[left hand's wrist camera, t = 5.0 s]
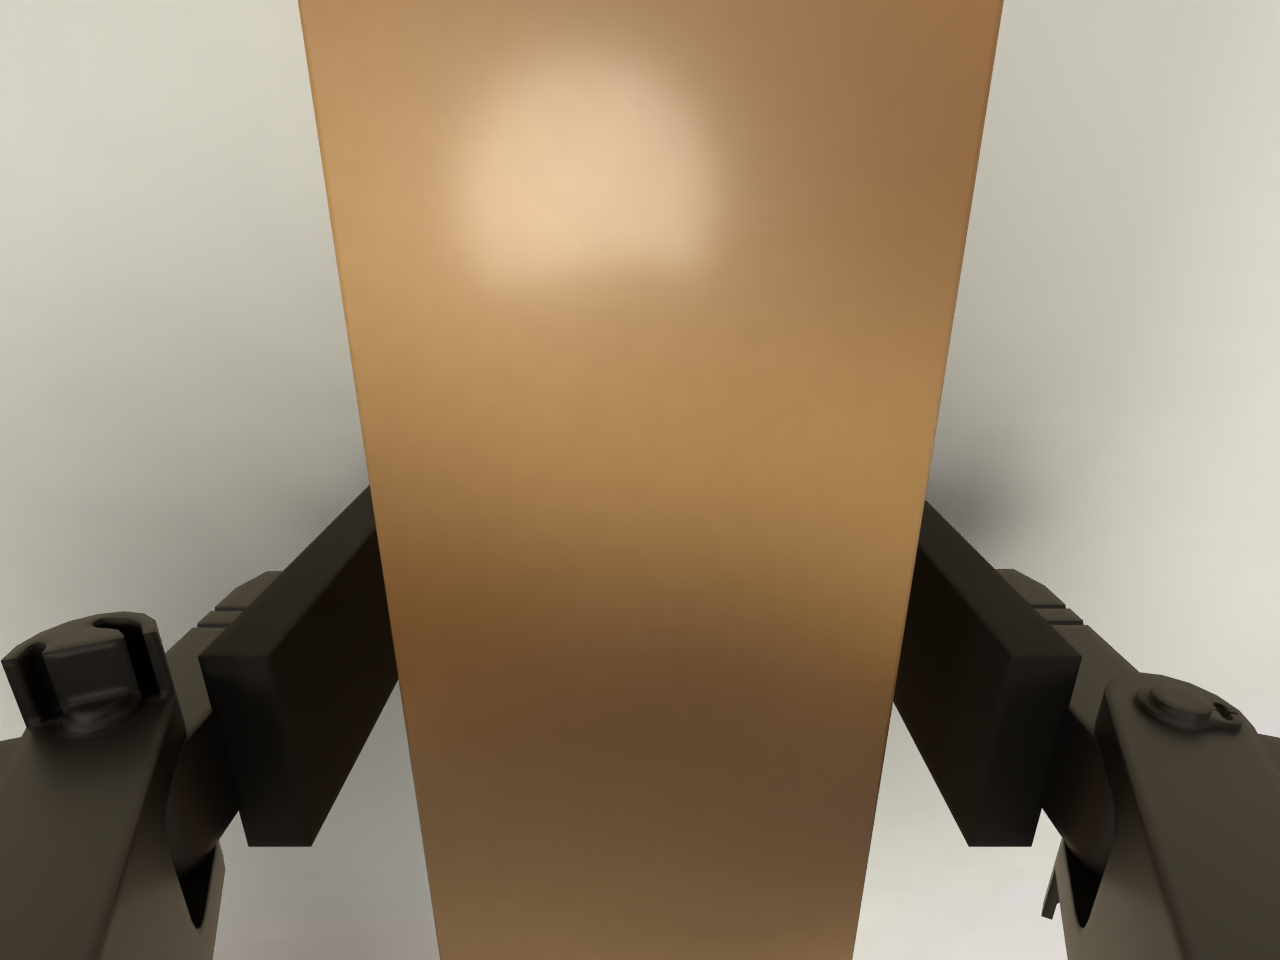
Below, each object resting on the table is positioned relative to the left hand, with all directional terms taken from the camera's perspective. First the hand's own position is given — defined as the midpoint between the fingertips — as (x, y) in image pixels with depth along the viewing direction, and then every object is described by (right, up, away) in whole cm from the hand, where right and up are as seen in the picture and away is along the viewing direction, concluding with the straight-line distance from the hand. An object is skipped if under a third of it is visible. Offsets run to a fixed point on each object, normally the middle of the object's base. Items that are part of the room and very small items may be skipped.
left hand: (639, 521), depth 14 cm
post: (0, +28, -10) cm, 30 cm away
